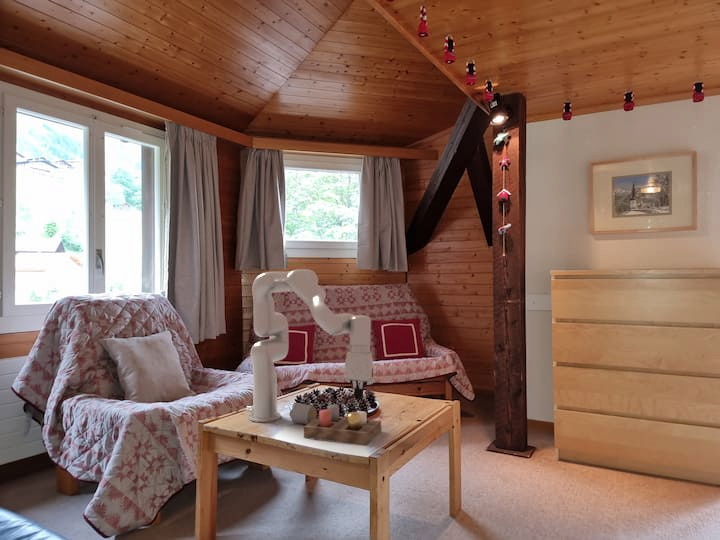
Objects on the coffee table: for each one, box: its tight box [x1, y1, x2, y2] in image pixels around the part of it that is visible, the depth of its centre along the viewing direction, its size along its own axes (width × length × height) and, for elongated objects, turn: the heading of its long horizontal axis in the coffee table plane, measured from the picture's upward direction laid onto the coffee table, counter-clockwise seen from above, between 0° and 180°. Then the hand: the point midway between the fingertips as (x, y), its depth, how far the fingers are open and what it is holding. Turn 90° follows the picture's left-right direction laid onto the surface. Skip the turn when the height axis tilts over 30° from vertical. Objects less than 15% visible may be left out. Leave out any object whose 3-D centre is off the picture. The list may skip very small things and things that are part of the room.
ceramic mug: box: [290, 402, 318, 425], centre depth 203 cm, size 11×8×8 cm
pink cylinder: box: [318, 408, 332, 427], centre depth 186 cm, size 4×4×5 cm
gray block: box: [326, 404, 340, 422], centre depth 193 cm, size 4×4×5 cm
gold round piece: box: [347, 411, 360, 430], centre depth 183 cm, size 4×4×5 cm
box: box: [303, 416, 382, 446], centre depth 188 cm, size 24×16×4 cm, turn 70°
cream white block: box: [356, 410, 368, 425], centre depth 189 cm, size 4×4×5 cm
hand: (358, 398), depth 190 cm, fingers closed
